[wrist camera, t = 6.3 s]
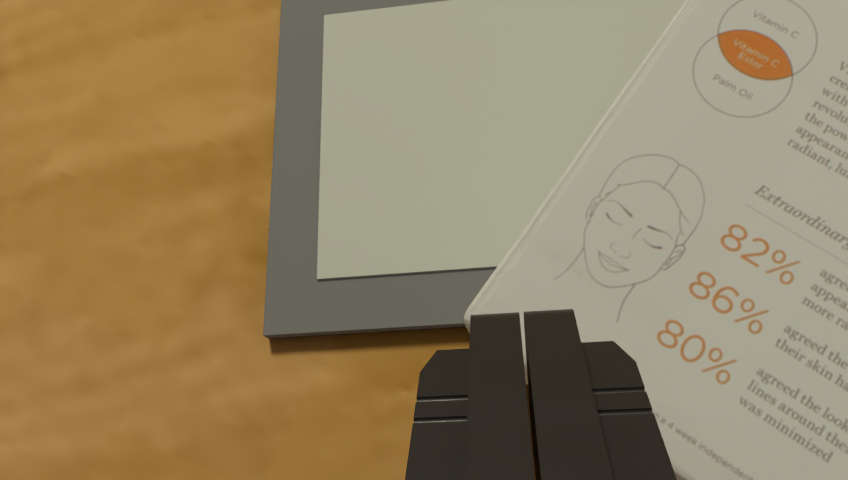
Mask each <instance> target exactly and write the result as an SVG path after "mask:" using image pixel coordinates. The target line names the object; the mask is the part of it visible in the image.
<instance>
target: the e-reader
mask: <svg viewBox="0 0 848 480" xmlns="http://www.w3.org/2000/svg"><path fill="white" fill-rule="evenodd" d="M685 1H686V0H282V1H281V19H280V38H279V56H278V75H277V93H276V111H275V130H274V148H273V167H272V185H271V203H270V222H269V240H268V259H267V277H266V295H265V314H264V332H263V335H264V336H265V337H267V338H284V337H300V336H317V335H333V334H350V333H367V332H383V331H400V330H416V329H433V328H450V327H466V326H465V322H464V315H465V313H466V311H467V309H468V307H469V306H470V304H471V303H472V302H473V300H474V299H475V297H476V296H477V294H478V293H479V292H480V290H481V289H482V287H483V286H484V285H485V283H486V282H487V281H488V279H489V278H490V276H491V275H492V274H493V272H494V271H495V269H496V268H497V266H498V265H499V264H500V262H501V261H502V259H503V258H504V256H505V255H506V254H507V252H508V251H509V249H510V248H511V247H512V245H513V244H514V242H515V241H516V240H517V238H518V237H519V235H520V234H521V233H522V231H523V230H524V228H525V227H526V225H527V224H528V223H529V221H530V220H531V218H532V217H533V215H534V214H535V213H536V211H537V210H538V208H539V207H540V206H541V204H542V203H543V201H544V200H545V199H546V197H547V196H548V194H549V193H550V192H551V190H552V189H553V187H554V186H555V185H556V183H557V182H558V180H559V179H560V178H561V176H562V175H563V173H564V172H565V170H566V169H567V168H568V166H569V165H570V163H571V162H572V160H573V159H574V157H575V156H576V154H577V153H578V151H579V150H580V149H581V147H582V146H583V144H584V143H585V142H586V140H587V139H588V137H589V136H590V135H591V133H592V132H593V130H594V129H595V127H596V126H597V124H598V123H599V122H600V120H601V119H602V118H603V116H604V115H605V113H606V112H607V110H608V109H609V108H610V106H611V105H612V103H613V102H614V101H615V99H616V98H617V96H618V95H619V94H620V92H621V91H622V89H623V88H624V87H625V85H626V84H627V82H628V81H629V80H630V78H631V77H632V75H633V74H634V73H635V71H636V70H637V69H638V67H639V66H640V65H641V63H642V62H643V60H644V59H645V57H646V56H647V54H648V53H649V52H650V50H651V49H652V47H653V46H654V45H655V43H656V42H657V41H658V39H659V38H660V36H661V35H662V34H663V32H664V31H665V29H666V28H667V26H668V25H669V24H670V22H671V21H672V19H673V18H674V16H675V15H676V14H677V12H678V11H679V9H680V8H681V7H682V5H683V4H684V2H685Z"/></svg>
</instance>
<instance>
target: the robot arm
mask: <svg viewBox="0 0 848 480" xmlns="http://www.w3.org/2000/svg"><path fill="white" fill-rule="evenodd" d="M524 331H525V347H526V363H527V378H528V394H529V408H530V422H531V434H532V445H533V455H534V466H535V477H536V480H677V479H676V476H675V473H674V470H673V467H672V464H671V461H670V458H669V455H668V453H667V450H666V447H665V444H664V441H663V438H662V435H661V432H660V430H659V427H658V424H657V421H656V418H655V415H654V413H652V407H651V404H650V401H649V398H648V395H647V392H645V386H644V383H643V381H642V378H641V375H640V372H639V369H638V366H637V363H636V361H635V360H634V359H633V358H632V357H630V356H629V355H628V354H627V353H626V352H625V351H624V350H623V349H622V348H621V347H620V346H618V345H617V344H616V343H615V342H614V341H601V342H582V343H581V339H580V335H579V331H578V327H577V322H576V318H575V314H574V310H573V309H562V310H545V311H528V312H524ZM532 445H531V435H530V424H529V413H528V402H527V391H526V380H525V369H524V359H523V348H522V337H521V326H520V315H519V312H514V313H497V314H479V315H471V317H470V346H469V349H453V350H437V351H436V353H435V354H434V355H433V356H432V358H431V359H430V360H429V362H428V363H427V364H426V365H425V367H424V368H423V369H422V370H421V372H420V377H419V384H418V391H417V402H416V406H415V413H414V423H413V427H412V434H411V441H410V448H409V456H408V463H407V470H406V477H405V480H535V478H534V467H533V456H532Z"/></svg>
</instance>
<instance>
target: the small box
mask: <svg viewBox="0 0 848 480" xmlns="http://www.w3.org/2000/svg"><path fill="white" fill-rule="evenodd" d="M562 309H573V310H574V314H575V318H576V322H577V327H578V331H579V335H580V339H581V343H582V342H601V341H614V342H615V343H616V344H617V345H618V346H620V347H621V348H622V349H623V350H624V351H625V352H626V353H627V354H628V355H629V356H630V357H632V358H633V359H634V360H635V361H636V363H637V366H638V369H639V372H640V375H641V378H642V381H643V383H644V386H645V392H647V395H648V398H649V401H650V404H651V407H652V413H654V415H655V418H656V421H657V424H658V427H659V430H660V432H661V435H662V438H663V441H664V444H665V447H666V450H667V453H668V455H669V458H670V461H671V464H672V467H673V470H674V473H675V476H676V479H677V480H848V0H686V1H685V2H684V4H683V5H682V7H681V8H680V9H679V11H678V12H677V14H676V15H675V16H674V18H673V19H672V21H671V22H670V24H669V25H668V26H667V28H666V29H665V31H664V32H663V34H662V35H661V36H660V38H659V39H658V41H657V42H656V43H655V45H654V46H653V47H652V49H651V50H650V52H649V53H648V54H647V56H646V57H645V59H644V60H643V62H642V63H641V65H640V66H639V67H638V69H637V70H636V71H635V73H634V74H633V75H632V77H631V78H630V80H629V81H628V82H627V84H626V85H625V87H624V88H623V89H622V91H621V92H620V94H619V95H618V96H617V98H616V99H615V101H614V102H613V103H612V105H611V106H610V108H609V109H608V110H607V112H606V113H605V115H604V116H603V118H602V119H601V120H600V122H599V123H598V124H597V126H596V127H595V129H594V130H593V132H592V133H591V135H590V136H589V137H588V139H587V140H586V142H585V143H584V144H583V146H582V147H581V149H580V150H579V151H578V153H577V154H576V156H575V157H574V159H573V160H572V162H571V163H570V165H569V166H568V168H567V169H566V170H565V172H564V173H563V175H562V176H561V178H560V179H559V180H558V182H557V183H556V185H555V186H554V187H553V189H552V190H551V192H550V193H549V194H548V196H547V197H546V199H545V200H544V201H543V203H542V204H541V206H540V207H539V208H538V210H537V211H536V213H535V214H534V215H533V217H532V218H531V220H530V221H529V223H528V224H527V225H526V227H525V228H524V230H523V231H522V233H521V234H520V235H519V237H518V238H517V240H516V241H515V242H514V244H513V245H512V247H511V248H510V249H509V251H508V252H507V254H506V255H505V256H504V258H503V259H502V261H501V262H500V264H499V265H498V266H497V268H496V269H495V271H494V272H493V274H492V275H491V276H490V278H489V279H488V281H487V282H486V283H485V285H484V286H483V287H482V289H481V290H480V292H479V293H478V294H477V296H476V297H475V299H474V300H473V302H472V303H471V304H470V306H469V307H468V309H467V311H466V313H465V315H464V322H465V326H466V328H467V330H468V332H469V334H470V317H471V315H479V314H497V313H514V312H519V315H520V326H521V337H522V348H523V359H524V369H525V380H526V384H527V385H528V378H527V363H526V347H525V331H524V312H528V311H545V310H562Z"/></svg>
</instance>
